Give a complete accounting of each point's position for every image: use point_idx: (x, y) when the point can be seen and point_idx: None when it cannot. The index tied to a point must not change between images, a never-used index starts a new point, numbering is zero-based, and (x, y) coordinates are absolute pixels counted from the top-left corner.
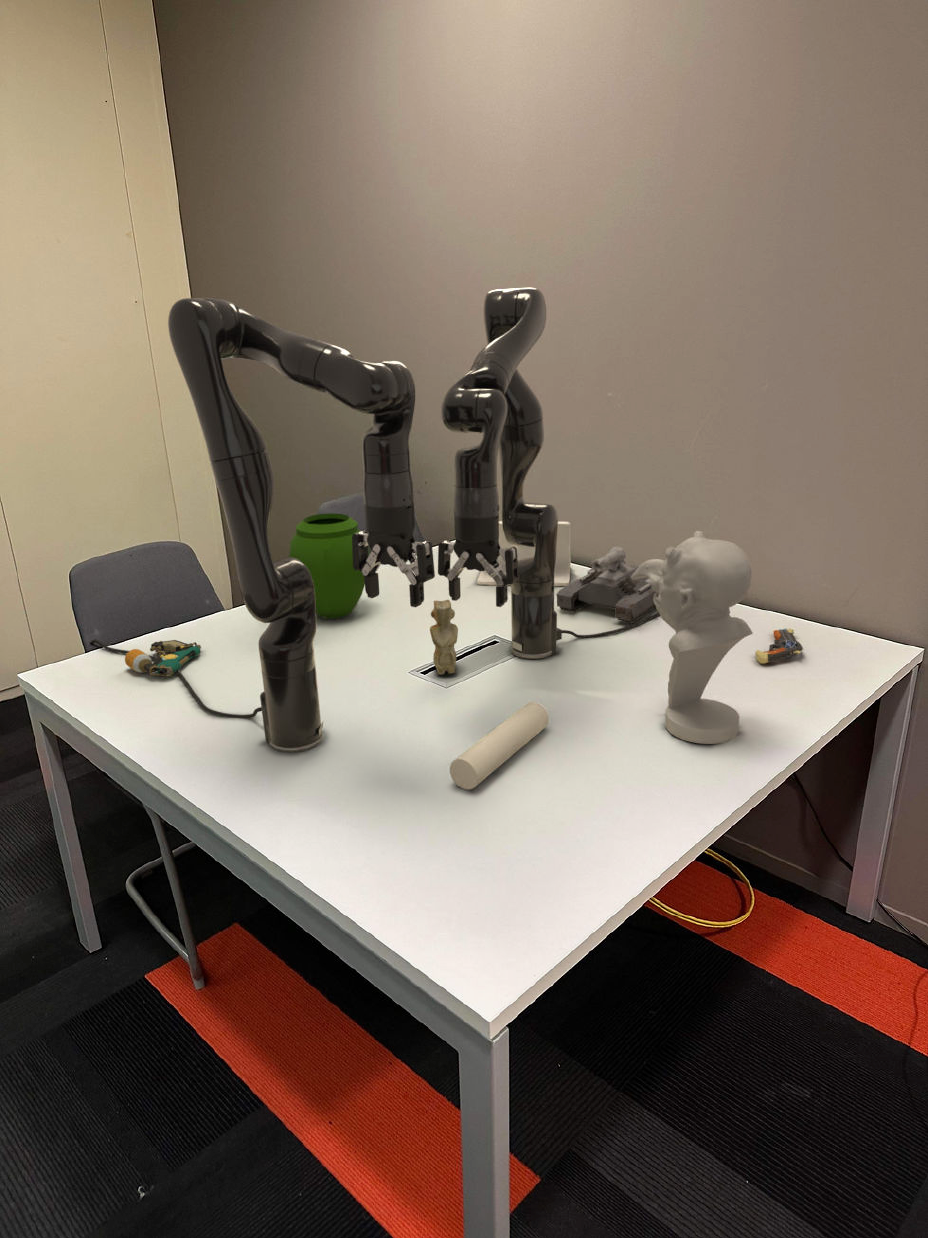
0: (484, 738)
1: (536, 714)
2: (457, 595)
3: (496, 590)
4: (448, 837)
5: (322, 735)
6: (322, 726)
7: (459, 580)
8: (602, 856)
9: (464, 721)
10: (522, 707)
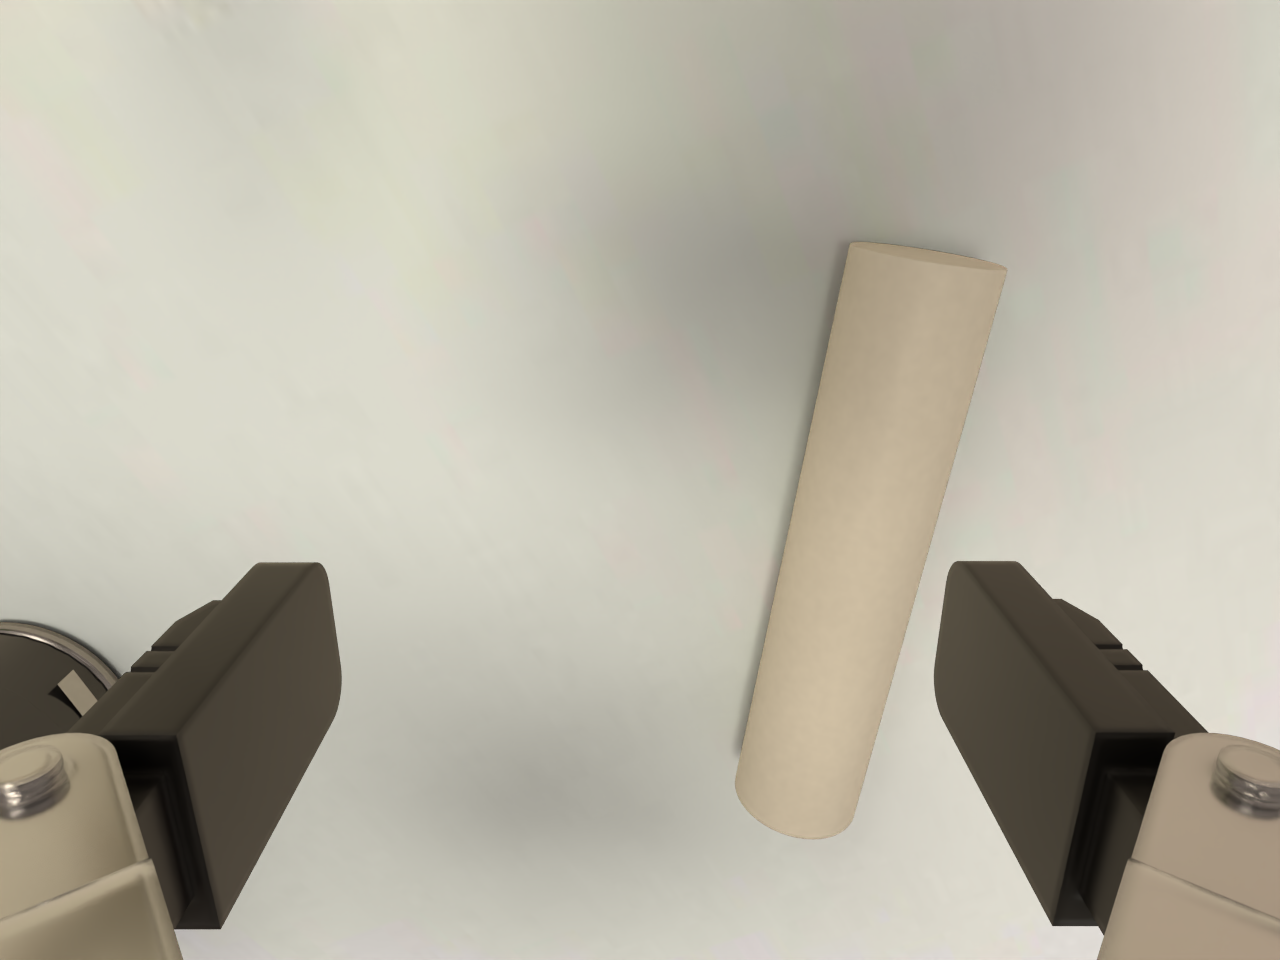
0: (819, 674)
1: (974, 357)
2: (314, 669)
3: (1034, 872)
4: (839, 949)
5: (104, 675)
6: (76, 684)
7: (206, 737)
8: None
9: (555, 310)
10: (887, 324)
